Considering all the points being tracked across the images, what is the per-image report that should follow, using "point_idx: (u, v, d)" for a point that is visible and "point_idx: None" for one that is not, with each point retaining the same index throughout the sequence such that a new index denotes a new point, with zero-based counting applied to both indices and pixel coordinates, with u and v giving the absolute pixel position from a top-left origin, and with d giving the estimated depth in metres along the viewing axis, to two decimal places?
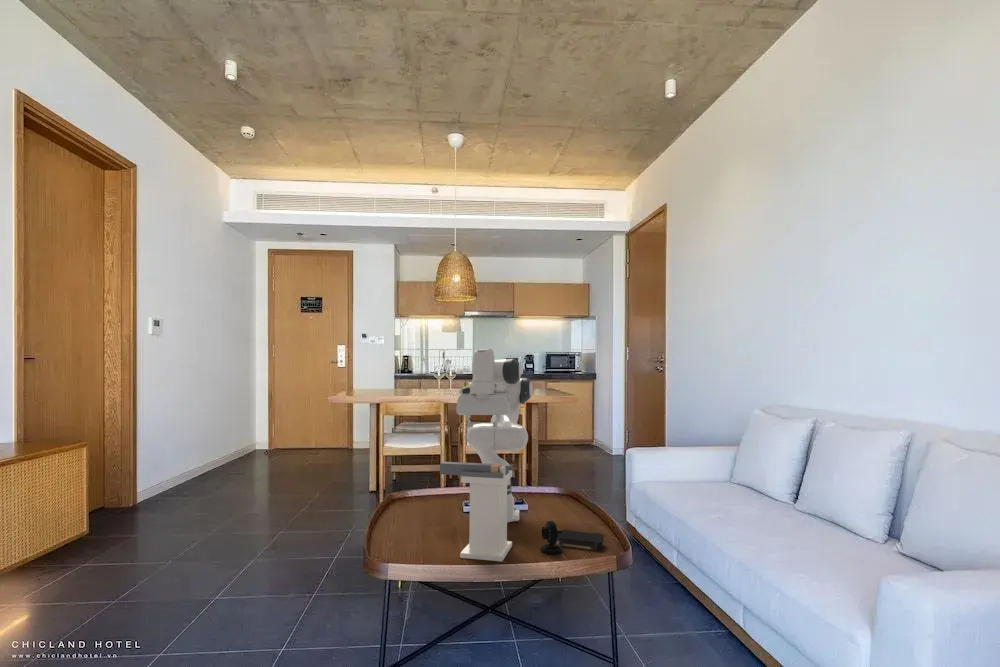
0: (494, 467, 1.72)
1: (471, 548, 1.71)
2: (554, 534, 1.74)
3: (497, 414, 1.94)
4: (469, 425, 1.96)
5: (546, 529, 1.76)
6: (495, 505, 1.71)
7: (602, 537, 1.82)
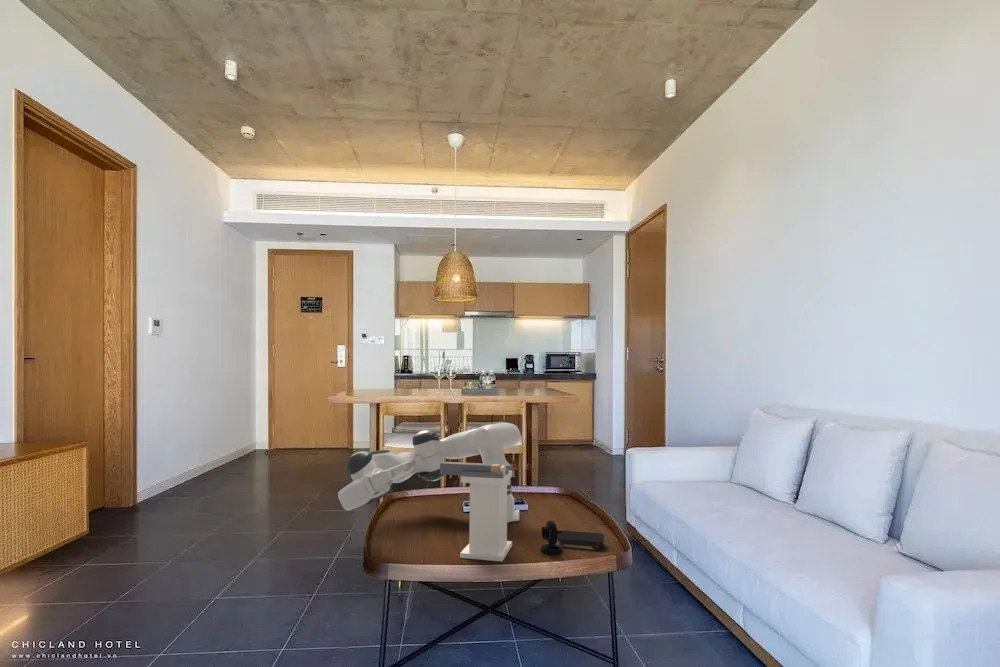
0: (494, 467, 1.72)
1: (471, 548, 1.71)
2: (554, 534, 1.74)
3: (405, 463, 1.86)
4: None
5: (546, 529, 1.76)
6: (495, 505, 1.71)
7: (602, 536, 1.83)
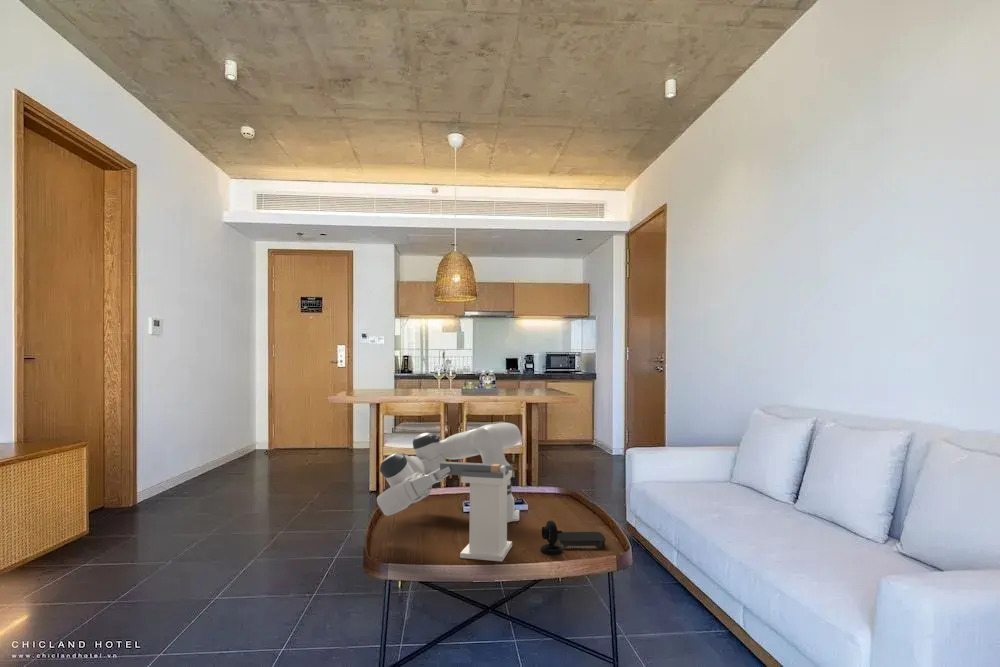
0: (494, 467, 1.72)
1: (471, 548, 1.71)
2: (554, 534, 1.74)
3: None
4: (447, 467, 1.74)
5: (546, 529, 1.76)
6: (495, 505, 1.71)
7: (601, 535, 1.85)
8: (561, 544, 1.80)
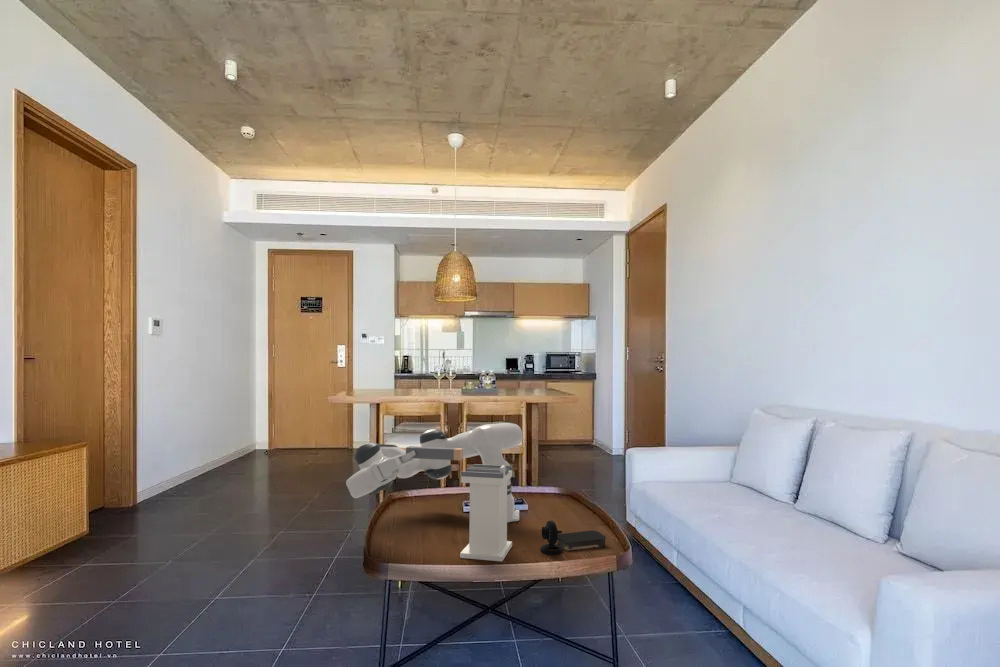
0: (457, 451, 1.80)
1: (471, 548, 1.71)
2: (554, 534, 1.74)
3: None
4: (412, 451, 1.83)
5: (546, 529, 1.76)
6: (495, 505, 1.71)
7: (599, 533, 1.87)
8: (566, 546, 1.78)
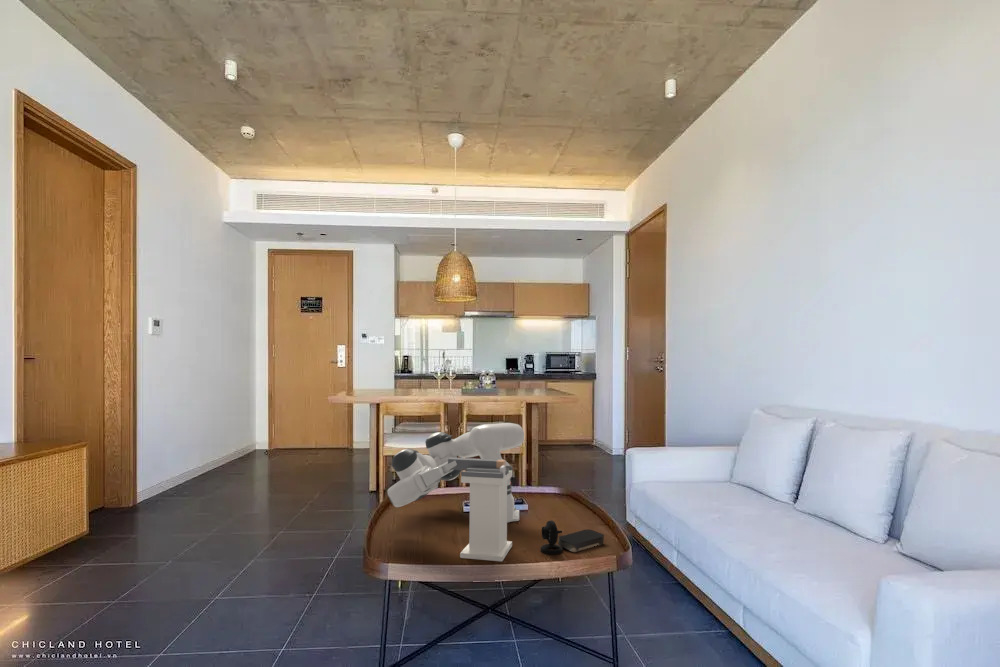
0: (499, 462, 1.80)
1: (471, 548, 1.71)
2: (554, 534, 1.74)
3: None
4: (453, 461, 1.81)
5: (546, 529, 1.76)
6: (495, 505, 1.71)
7: (594, 531, 1.89)
8: (573, 548, 1.76)
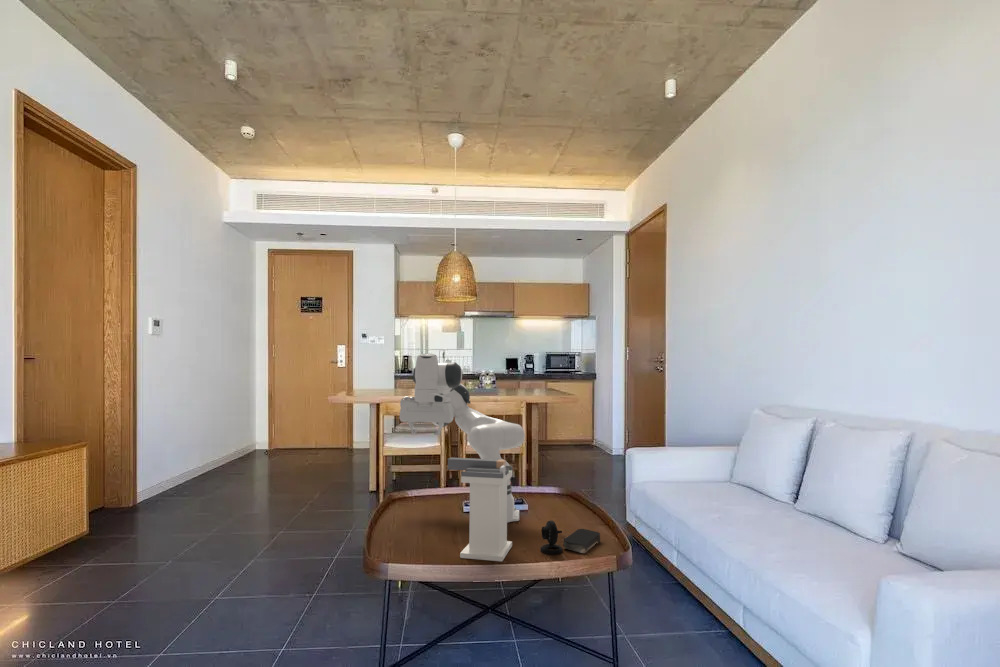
0: (499, 462, 1.80)
1: (471, 548, 1.71)
2: (554, 534, 1.74)
3: None
4: None
5: (546, 529, 1.76)
6: (495, 505, 1.71)
7: (587, 530, 1.90)
8: (583, 549, 1.75)
